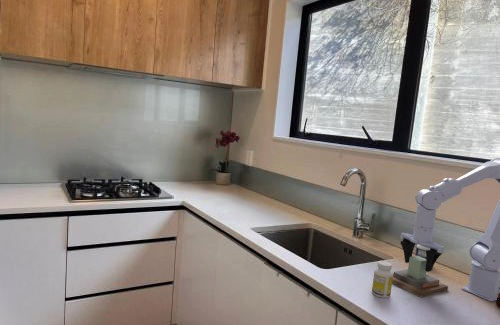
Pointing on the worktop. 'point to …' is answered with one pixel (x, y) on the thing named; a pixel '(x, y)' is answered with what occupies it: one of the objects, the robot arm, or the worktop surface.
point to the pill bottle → (421, 251)
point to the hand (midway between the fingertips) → (417, 266)
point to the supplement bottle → (382, 280)
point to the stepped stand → (418, 284)
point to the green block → (417, 267)
